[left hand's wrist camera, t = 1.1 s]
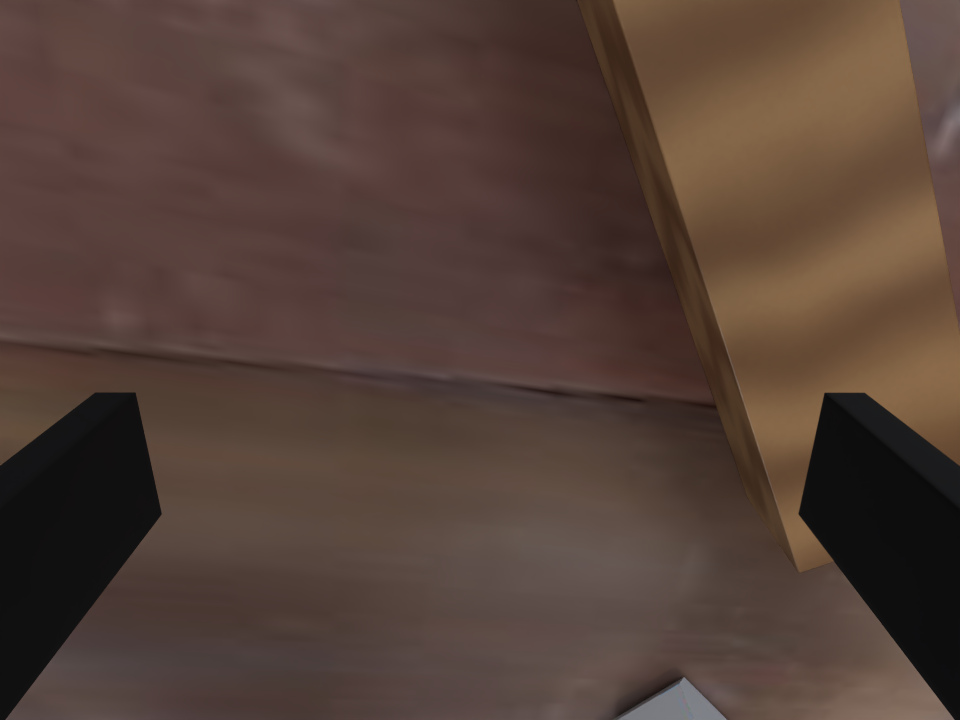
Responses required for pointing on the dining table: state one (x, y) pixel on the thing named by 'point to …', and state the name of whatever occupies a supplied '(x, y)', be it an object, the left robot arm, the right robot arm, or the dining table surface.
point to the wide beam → (790, 219)
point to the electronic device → (674, 705)
